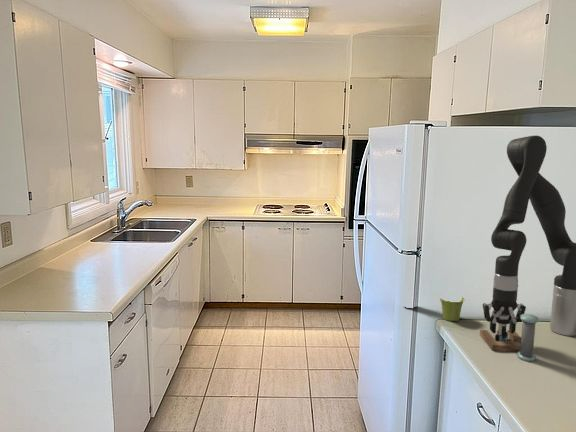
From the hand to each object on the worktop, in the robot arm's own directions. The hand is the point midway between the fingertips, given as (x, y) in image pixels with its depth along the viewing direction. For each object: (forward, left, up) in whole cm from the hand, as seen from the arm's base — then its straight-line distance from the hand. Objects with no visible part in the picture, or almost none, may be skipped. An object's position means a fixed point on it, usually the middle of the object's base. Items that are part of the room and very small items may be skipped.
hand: (502, 332), depth 152 cm
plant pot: (+12, -20, -3) cm, 23 cm away
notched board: (0, +1, -3) cm, 4 cm away
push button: (0, 0, -3) cm, 3 cm away
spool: (-3, +12, -3) cm, 13 cm away
